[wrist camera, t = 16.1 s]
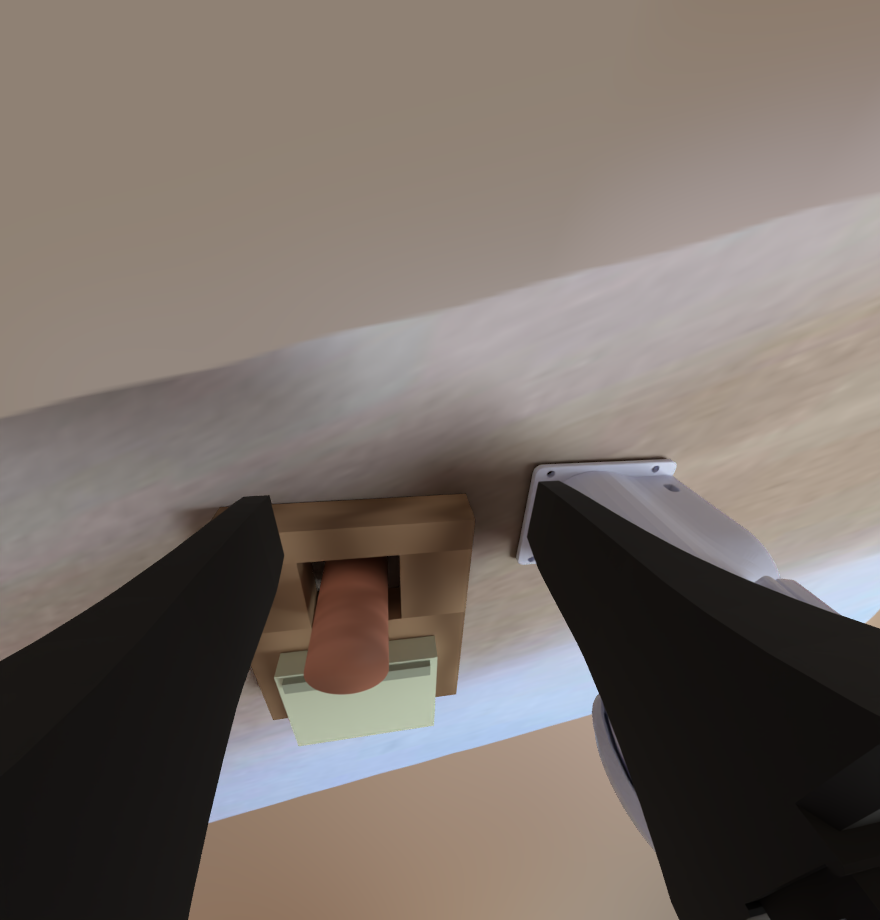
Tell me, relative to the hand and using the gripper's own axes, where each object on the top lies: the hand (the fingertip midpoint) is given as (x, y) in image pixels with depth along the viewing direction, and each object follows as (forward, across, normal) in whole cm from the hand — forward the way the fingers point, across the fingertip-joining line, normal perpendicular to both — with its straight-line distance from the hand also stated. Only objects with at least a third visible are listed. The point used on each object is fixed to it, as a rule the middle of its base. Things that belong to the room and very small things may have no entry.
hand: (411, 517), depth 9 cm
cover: (+7, +3, +20) cm, 22 cm away
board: (+9, +3, +15) cm, 18 cm away
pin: (+9, +3, +11) cm, 15 cm away
